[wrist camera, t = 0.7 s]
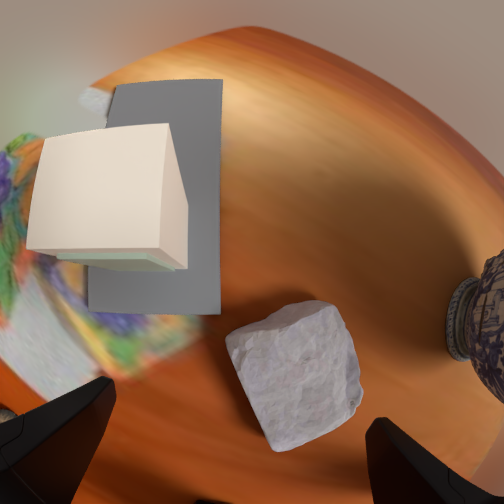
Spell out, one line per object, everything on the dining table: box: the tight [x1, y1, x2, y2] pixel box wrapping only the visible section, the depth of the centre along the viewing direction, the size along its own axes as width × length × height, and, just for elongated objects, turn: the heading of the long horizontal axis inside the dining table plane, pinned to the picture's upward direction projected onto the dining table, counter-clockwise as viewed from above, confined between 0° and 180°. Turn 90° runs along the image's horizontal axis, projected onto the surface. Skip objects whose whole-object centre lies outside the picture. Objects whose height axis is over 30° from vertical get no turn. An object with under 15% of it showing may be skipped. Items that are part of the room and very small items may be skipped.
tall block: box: [26, 123, 188, 271], centre depth 15 cm, size 5×6×12 cm
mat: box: [88, 79, 223, 315], centre depth 22 cm, size 22×11×1 cm, turn 1°
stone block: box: [225, 300, 363, 452], centre depth 21 cm, size 12×5×10 cm
